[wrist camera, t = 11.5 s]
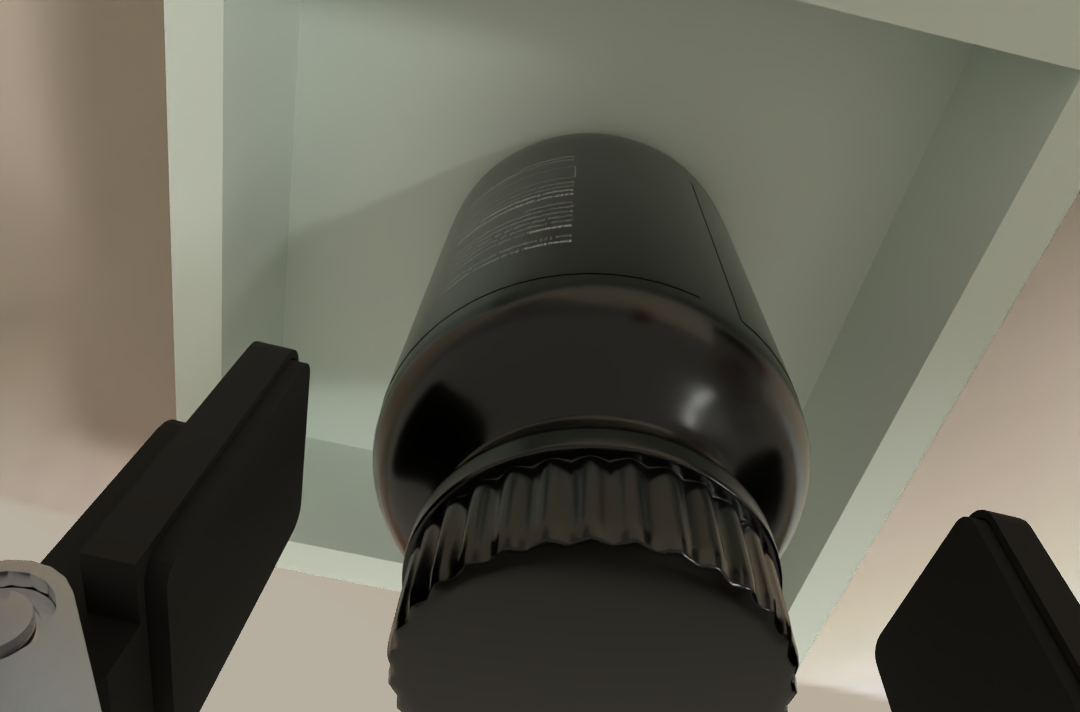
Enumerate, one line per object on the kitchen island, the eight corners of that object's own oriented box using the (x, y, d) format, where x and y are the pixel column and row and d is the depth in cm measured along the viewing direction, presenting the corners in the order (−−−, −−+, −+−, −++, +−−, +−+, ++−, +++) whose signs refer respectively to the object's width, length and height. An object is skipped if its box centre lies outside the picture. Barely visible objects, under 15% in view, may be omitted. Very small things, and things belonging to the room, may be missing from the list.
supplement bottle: (454, 376, 21) (318, 832, 11) (445, 119, 18) (232, 428, 7) (711, 390, 21) (822, 871, 11) (752, 132, 17) (979, 471, 7)
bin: (1028, -11, 17) (1179, 20, 12) (761, 535, 25) (797, 670, 20) (276, -200, 16) (156, -238, 11) (255, 430, 24) (180, 548, 19)
